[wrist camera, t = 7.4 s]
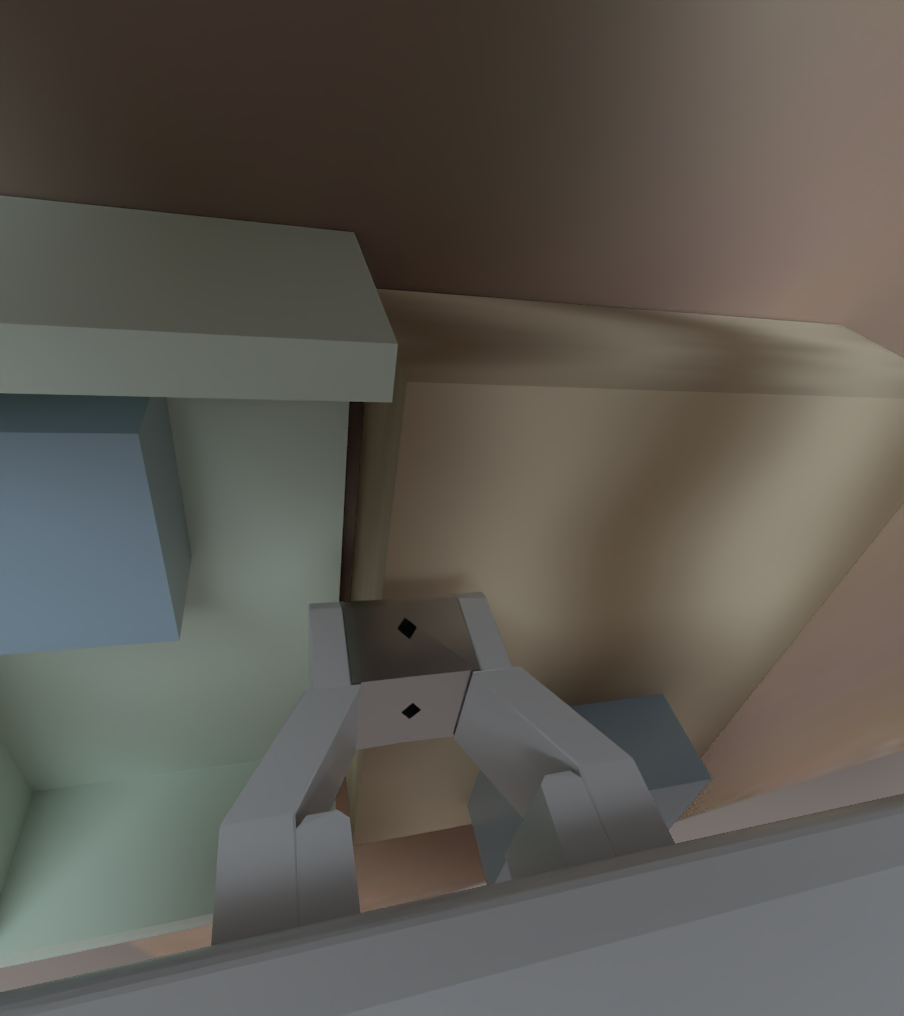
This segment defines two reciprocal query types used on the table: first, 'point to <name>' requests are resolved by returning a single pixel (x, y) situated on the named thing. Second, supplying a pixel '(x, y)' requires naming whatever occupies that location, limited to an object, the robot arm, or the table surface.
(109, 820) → the tray
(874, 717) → the table surface
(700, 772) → the tile
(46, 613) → the tile
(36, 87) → the table surface
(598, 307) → the beige shallow box
